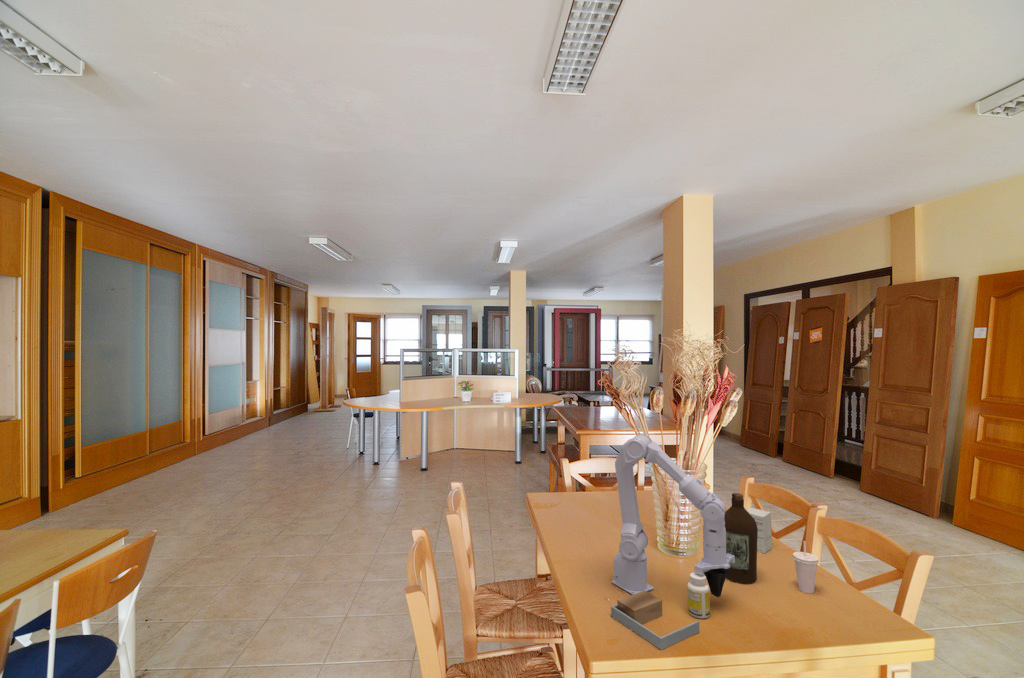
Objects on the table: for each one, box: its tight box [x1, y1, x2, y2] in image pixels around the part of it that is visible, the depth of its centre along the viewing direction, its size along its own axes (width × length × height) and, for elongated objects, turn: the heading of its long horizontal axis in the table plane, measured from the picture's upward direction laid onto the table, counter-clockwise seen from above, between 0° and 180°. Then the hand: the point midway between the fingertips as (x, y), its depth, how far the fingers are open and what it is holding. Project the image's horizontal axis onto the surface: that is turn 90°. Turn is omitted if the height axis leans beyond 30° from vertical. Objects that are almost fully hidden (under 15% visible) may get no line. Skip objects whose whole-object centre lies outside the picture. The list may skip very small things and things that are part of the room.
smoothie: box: [792, 540, 820, 594], centre depth 135 cm, size 6×6×14 cm
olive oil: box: [724, 492, 758, 585], centre depth 144 cm, size 11×11×25 cm
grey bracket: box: [610, 604, 700, 651], centre depth 118 cm, size 16×14×2 cm
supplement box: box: [746, 507, 773, 554], centre depth 165 cm, size 7×7×13 cm
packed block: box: [617, 590, 663, 625], centre depth 122 cm, size 6×10×4 cm, turn 121°
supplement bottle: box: [686, 571, 711, 619], centre depth 123 cm, size 5×5×10 cm
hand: (715, 595), depth 127 cm, fingers closed
